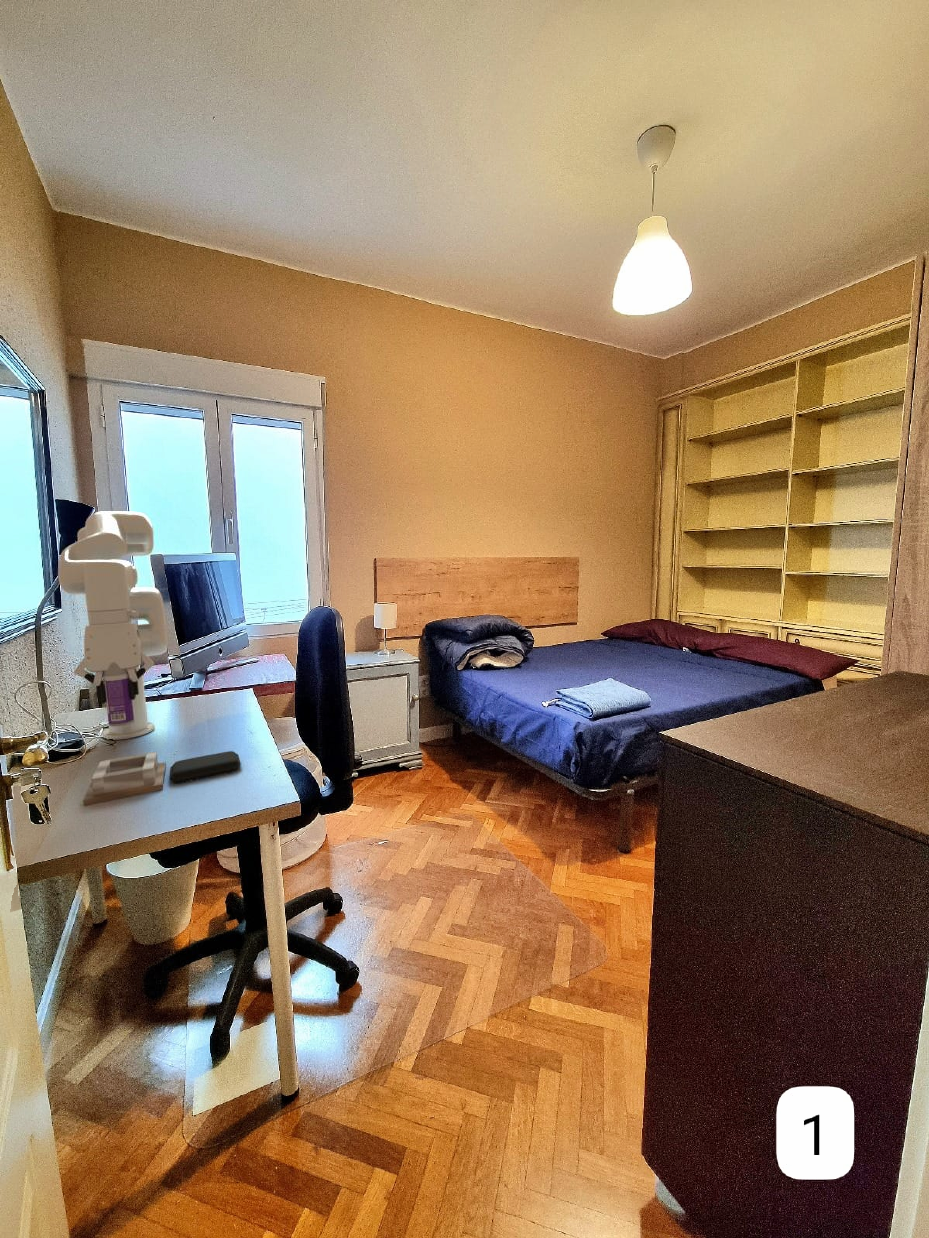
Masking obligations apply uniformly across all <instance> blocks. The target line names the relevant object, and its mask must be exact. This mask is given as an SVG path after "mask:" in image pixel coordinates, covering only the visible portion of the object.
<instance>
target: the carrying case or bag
mask: <svg viewBox="0 0 929 1238" xmlns="http://www.w3.org/2000/svg"><path fill="white" fill-rule="evenodd" d="M241 765H242V764H241V760H240V757H239V754H238V753H236V752H235V751H233V750H229V751H222V752H217V753H213V754H212V753H211V754H207V755H201V756H196V757H191V758H186V759H181V760H177V761H175V762H174V763H172V765H171V766H170V768H169V776H168V777H169V781H171V782H173V783H174V784H182V782H183V783H188V782H191V781H190V780H193V781H198V780H202V778H203V779H207V778H206V777H208V778H212V777H215V776H222V775H226V774H225V773H227V774H231V773H234V771H235V772H237V771H238V770H239V768H240V767H241ZM236 770H237V771H236ZM197 779H198V780H197ZM187 781H188V782H187Z"/></svg>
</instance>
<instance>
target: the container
mask: <svg viewBox="0 0 929 1238" xmlns="http://www.w3.org/2000/svg"><path fill="white" fill-rule="evenodd" d="M103 681H104V688H105V697H106V703H105V705H106V713H107V722H108V723H107V724H108V727H109V726H123V725H127V724H130V723H132V722H134V714H133V705H132V699H131V698H130V689H129V682H130V677H129V673H128V671H127V669H120V667H119V666H118V665H117V664H116V663H115V662H112V663H111V664H110V666H109V668H108V670H106V671H103Z"/></svg>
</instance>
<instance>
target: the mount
mask: <svg viewBox="0 0 929 1238" xmlns="http://www.w3.org/2000/svg"><path fill="white" fill-rule="evenodd" d="M158 759H159V758H158V751H153V752H147V753H141V754H136V755H129V756H123V757H118V758H112V759H107V760H105V759H104V760H101V761H99V763H98V766H96V767H97V768H96V769H95V771H94V773H93V775H92V778H91V783H90V786H89V787H88V789H87V791H86V793H85V796H84V797H83V800H82V801H83V806H88V804H89V805H93V804H98V803H103V801H104V802H108V801H113V800H118V799H124V798H128V797H132V796H137V795H142V794H143V795H144V794H148V793H153V792H157V790H158V791H162V790H163V789H164V785H163V784H165V776H166V772H167V762H166V761H165V762H160V763H159V761H158Z"/></svg>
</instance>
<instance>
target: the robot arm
mask: <svg viewBox="0 0 929 1238" xmlns="http://www.w3.org/2000/svg"><path fill="white" fill-rule="evenodd" d="M153 549H154V529H153V525H152V522H151V520H150V519H149V517H148V516H147V515H145V514H144V513H143V512H139V511H138V512H137V511H110V510H109V511H108V510H107V511H104V510H103V511H97V512H93V513H91V515H89V516H88V518H86V521H85V526H84V527H82V528H80V529H79V530H78V531H77V541H76V542H74V543H72V544H70V545H68V546H66V547H65V548H64V549H63V550H62V551H61V554H60V556H59V562H58V569H57V576H58V583H59V585H60V587H61V589H62V590H63V591H64V592H66V593H68V594H70V595H85V602H86V610H87V618H88V625H85V626H84V634H83V635H84V637H83V648H84V649H83V650H84V651H83V655H84V656H83V657H84V658H82V660H81V661H80V663H79V664H78V665H77V667H76V668H75V669H74V671H73V673H74V675H76V676H79V677H81V678H83V679H85V680H86V681H88V682H89V683H91V684H93V686H94V687H95V690H96V696H97V697H96V698H97V700H100V703H101V704H102V705H103V704H106V697H105V688H104V679H103V671H106V670H108V668H109V666H110V664H111V663H112V662H115V663H116V664H117V665H118V666H119V667H120V669H127V671H128V673H129V677H130V682H129V689H130V698H131V699H132V705H133V714H134V722H132V723H130V724H127V725H123V726H109V725H108V729H106V730H104V732H103V733H102V735H103V738H104V739H105V738H106V740H109V739H113V740H114V741H116V740H127V739H131V738H136V737H137V738H138V737H140V736H144V735H146V734H148V733H150V732H152V731H153V730H155V724H154V723H153V722H149V721H148V711H147V701H146V692H145V683H144V682H145V681H144V674H145V673H146V672H148V671H149V670H150V669H151V668H153V666H154V665H155V662H154V661H153V659H152V658H150V657H153V656H160V655H162V654H164V653H166V652H167V650H168V645H169V641H168V640H169V639H168V631H167V629H168V628H167V622H166V613H165V605H164V599H163V596H162V594H161V591H160V590H159V589H157V588H155V587H151V586H150V587H148V586H145V587H135V586H136V585H137V584H138V580H139V579H138V571H137V568H136V566H134V565H133V564H132V563H131V562H130V561H128V560H126V559H123V558H124V557H130V556H131V557H135V556H136V557H138V556H139V557H140V556H143V557H144V556H149V555H150V554H152V552H153ZM141 620H142V621H147V622H148V623H145V624H137V622H135V621H141ZM142 663H144V665H143V666H141V665H142ZM140 666H141V667H140ZM93 673H95V674H93Z"/></svg>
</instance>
